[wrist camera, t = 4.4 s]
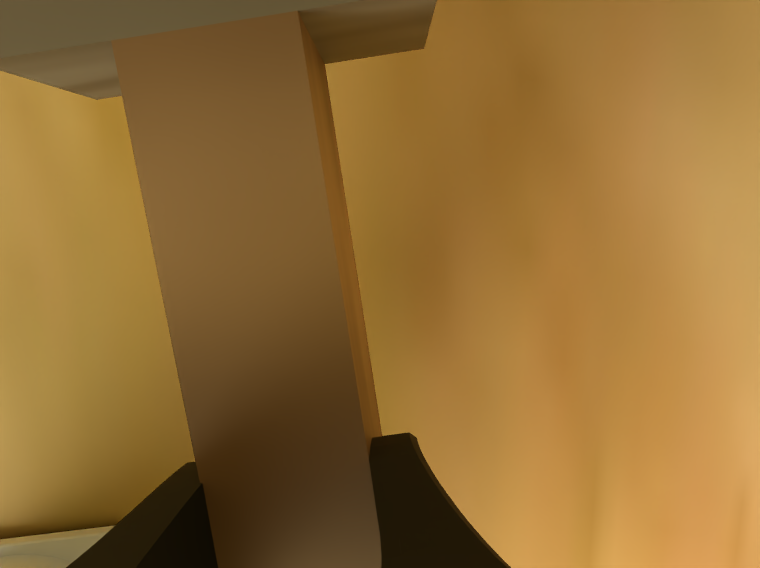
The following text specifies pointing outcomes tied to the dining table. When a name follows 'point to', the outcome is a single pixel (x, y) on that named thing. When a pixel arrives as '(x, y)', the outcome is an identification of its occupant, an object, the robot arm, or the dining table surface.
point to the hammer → (246, 243)
